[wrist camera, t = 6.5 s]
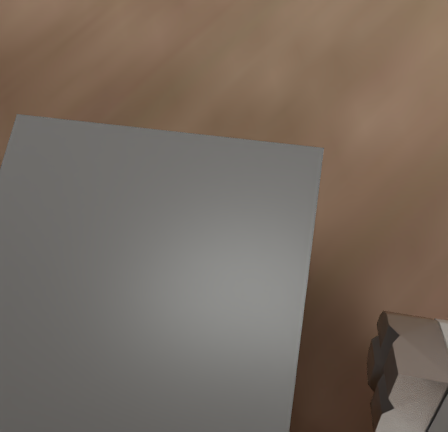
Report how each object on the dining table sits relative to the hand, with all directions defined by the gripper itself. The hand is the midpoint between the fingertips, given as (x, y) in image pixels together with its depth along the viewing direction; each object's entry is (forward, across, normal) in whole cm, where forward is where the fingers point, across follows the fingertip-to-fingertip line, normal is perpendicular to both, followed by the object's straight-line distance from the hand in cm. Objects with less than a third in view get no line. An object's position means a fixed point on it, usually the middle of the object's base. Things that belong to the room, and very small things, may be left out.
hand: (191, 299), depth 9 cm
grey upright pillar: (+4, 0, +4) cm, 6 cm away
